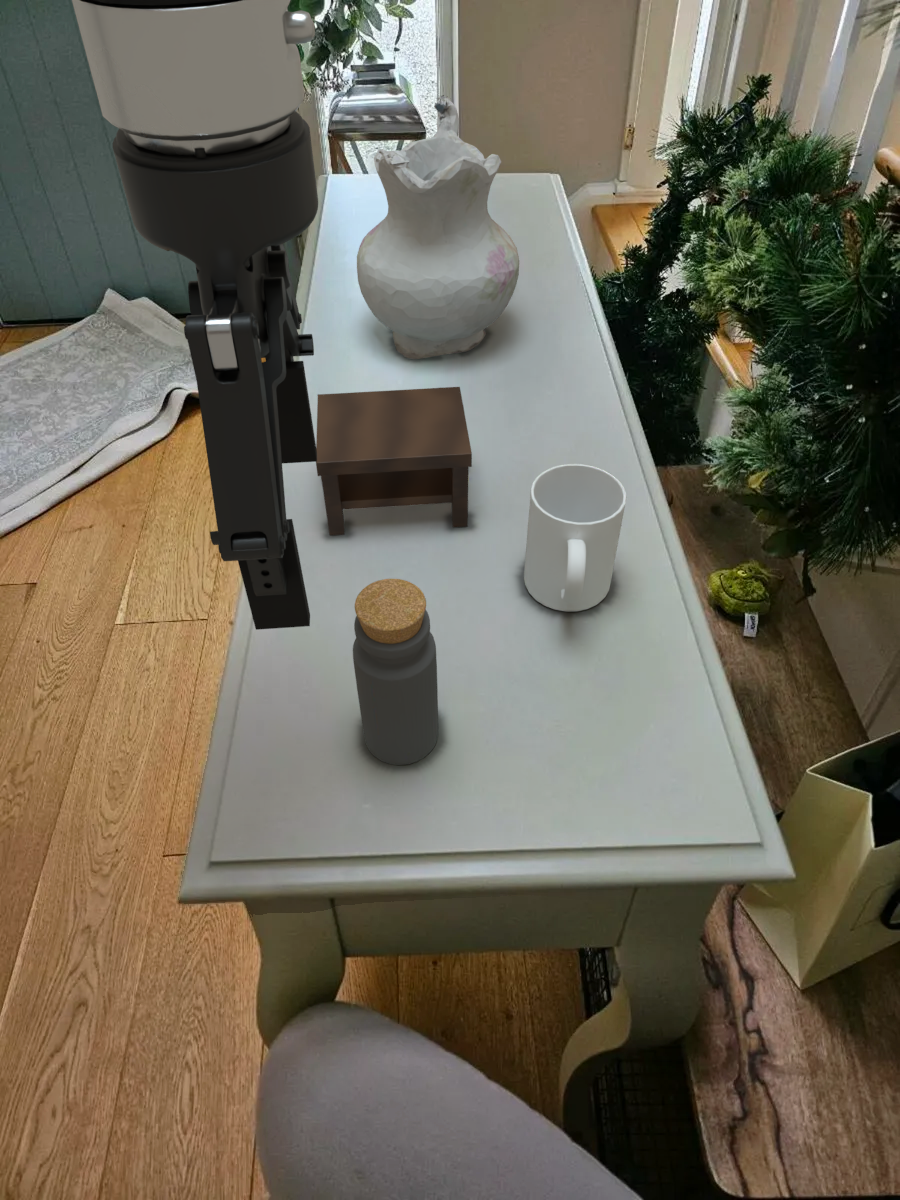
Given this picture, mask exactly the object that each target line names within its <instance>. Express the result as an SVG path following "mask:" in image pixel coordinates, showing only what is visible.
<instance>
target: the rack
mask: <svg viewBox="0 0 900 1200" xmlns="http://www.w3.org/2000/svg"><path fill="white" fill-rule="evenodd" d="M316 404H317V406H316V407H317V408H316V409H317V410H316V440H315V443H316V450H317V462H315V466H316V473H317V476H318V477H320V478H321V479H320V480H321V484H322V493H323V500H324V506H325V514H326V521H327V527H328V535H329V536H343V535H345V534H346V525H345V524H346V523H345V522H346V521H345V515H344V510H361V509H376V508H377V509H378V508H392V507H407V506H408V507H409V506H424V505H439V504H440V505H441V504H451V505H450V514H451V516H450V518H451V526H452V528H466V527H468V526H469V468H472V466H473V464H472V463H473V452H472V447H471V441H470V437H469V436H470V435H469V429H468V424H467V418H466V413H465V408H464V402H463V397H462V392H461V386H447V387H432V388H431V387H430V388H429V387H428V388H427V387H426V388H411V389H410V388H409V389H393V390H375V391H357V392H341V393H339V392H338V393H322V394H319V393H318V394H317V403H316Z"/></svg>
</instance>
